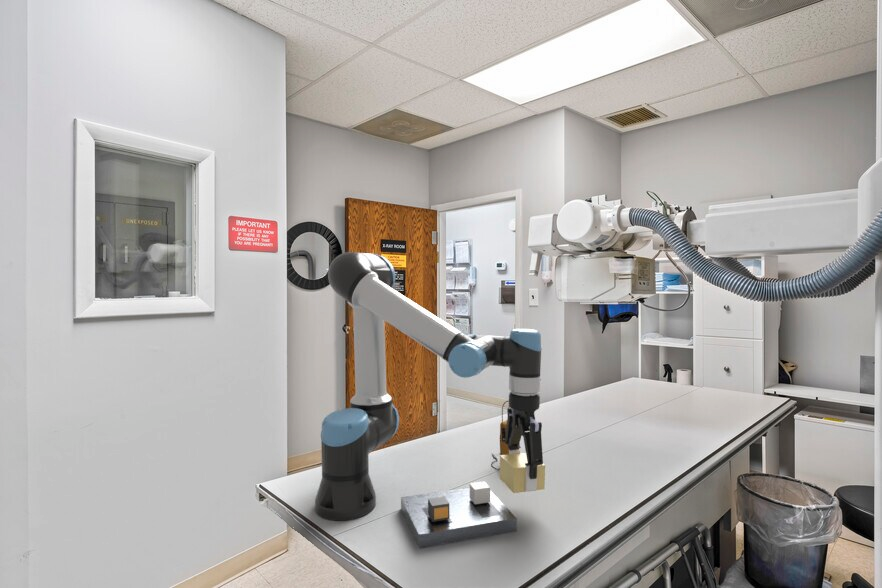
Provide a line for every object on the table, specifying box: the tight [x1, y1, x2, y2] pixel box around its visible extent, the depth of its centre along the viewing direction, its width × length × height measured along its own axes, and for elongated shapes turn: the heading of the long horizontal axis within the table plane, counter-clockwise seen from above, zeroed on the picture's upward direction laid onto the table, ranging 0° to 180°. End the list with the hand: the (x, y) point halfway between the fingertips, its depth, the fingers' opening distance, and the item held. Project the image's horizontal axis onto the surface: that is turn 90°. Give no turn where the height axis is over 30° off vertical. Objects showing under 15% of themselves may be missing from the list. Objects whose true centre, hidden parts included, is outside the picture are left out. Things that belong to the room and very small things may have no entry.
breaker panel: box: [400, 486, 518, 549], centre depth 112 cm, size 23×18×3 cm
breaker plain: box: [469, 480, 491, 504], centre depth 115 cm, size 4×4×4 cm
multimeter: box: [490, 400, 521, 471], centre depth 149 cm, size 15×10×20 cm
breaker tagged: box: [428, 496, 449, 522], centre depth 107 cm, size 4×4×4 cm
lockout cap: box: [498, 452, 546, 494], centre depth 117 cm, size 8×8×6 cm
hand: (522, 482), depth 117 cm, fingers closed on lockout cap, 8 cm apart
